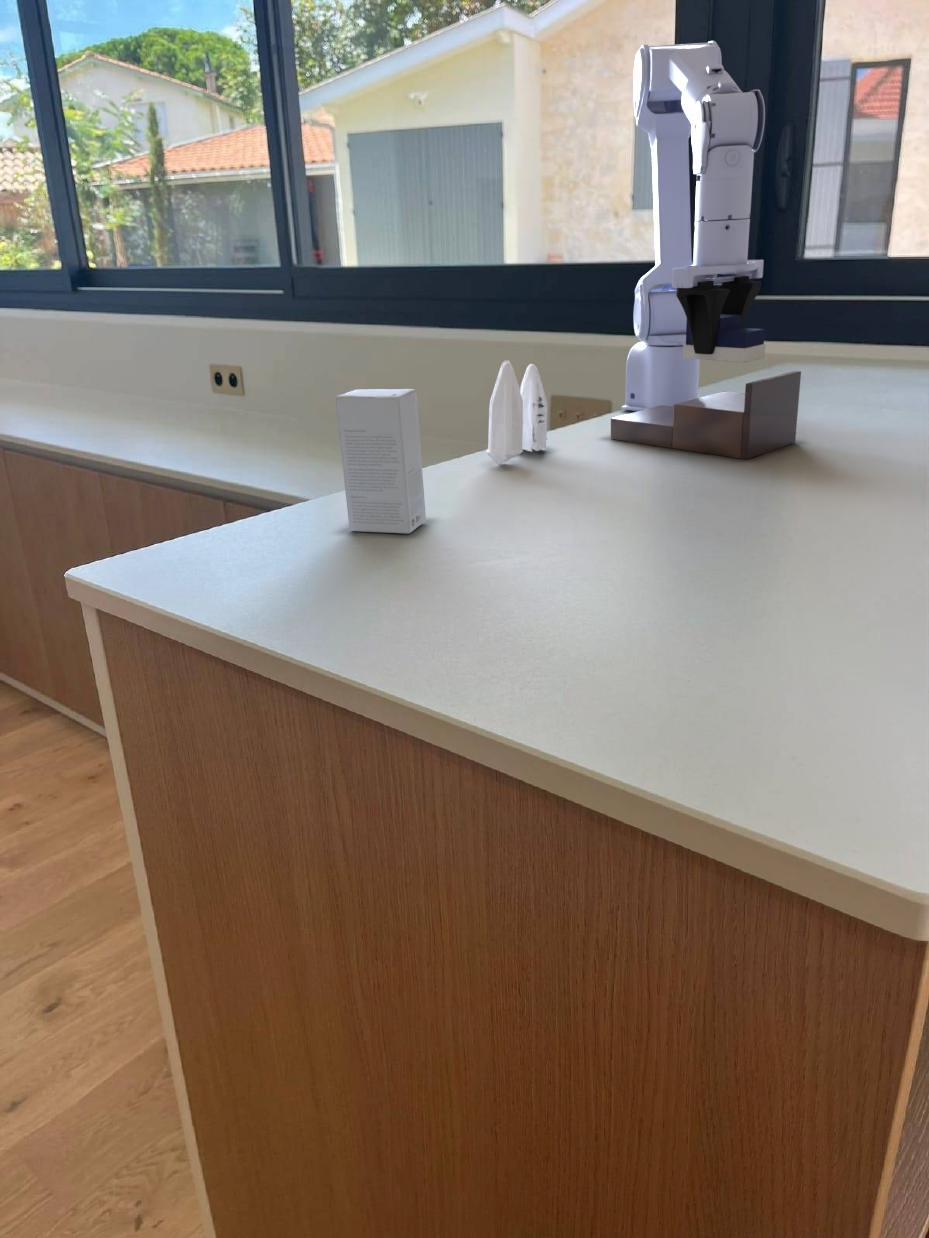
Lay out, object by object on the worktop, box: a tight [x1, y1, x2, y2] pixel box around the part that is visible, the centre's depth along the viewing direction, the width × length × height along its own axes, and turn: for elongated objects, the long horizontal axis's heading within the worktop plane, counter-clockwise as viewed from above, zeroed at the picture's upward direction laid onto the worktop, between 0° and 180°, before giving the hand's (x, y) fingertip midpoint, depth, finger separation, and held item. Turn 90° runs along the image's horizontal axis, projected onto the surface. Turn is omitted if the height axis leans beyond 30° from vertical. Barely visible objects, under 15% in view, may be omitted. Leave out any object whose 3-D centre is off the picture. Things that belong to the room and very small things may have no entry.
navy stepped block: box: [683, 314, 766, 364], centre depth 105 cm, size 8×4×4 cm, turn 43°
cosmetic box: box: [334, 388, 427, 534], centre depth 83 cm, size 6×4×12 cm
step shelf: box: [610, 370, 802, 460], centre depth 110 cm, size 19×10×8 cm, turn 43°
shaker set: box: [486, 360, 548, 466], centre depth 106 cm, size 12×4×11 cm, turn 152°
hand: (715, 351), depth 106 cm, fingers closed on navy stepped block, 4 cm apart
